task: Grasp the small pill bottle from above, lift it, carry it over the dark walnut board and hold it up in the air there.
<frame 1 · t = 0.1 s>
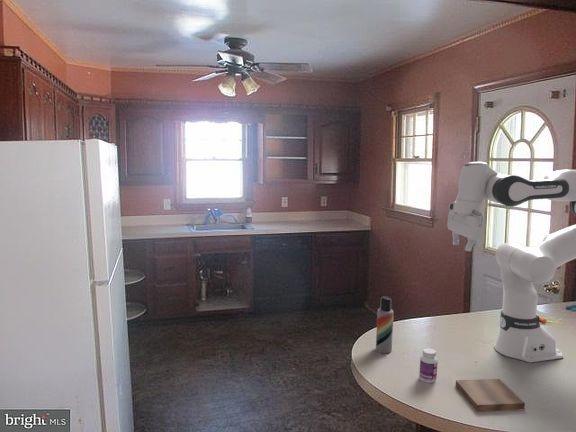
hand: (461, 247, 166), 39 cm above the worktop, tool pointing down, fingers open, 8 cm apart
walnut board: (488, 397, 142), on the worktop
lotion bottle: (383, 350, 174), on the worktop
pill bottle: (427, 379, 153), on the worktop
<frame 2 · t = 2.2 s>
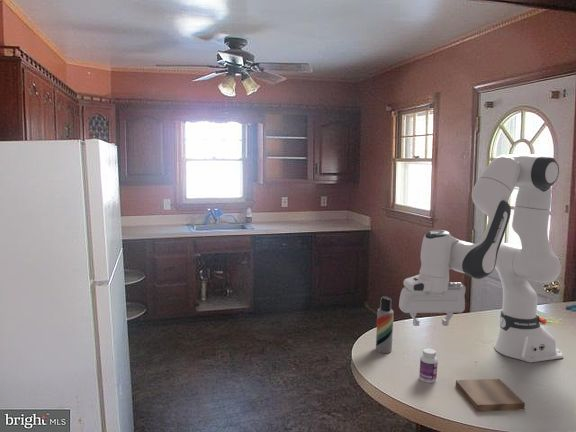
hand: (430, 325, 150), 18 cm above the worktop, tool pointing down, fingers open, 8 cm apart
nothing on the worktop moved.
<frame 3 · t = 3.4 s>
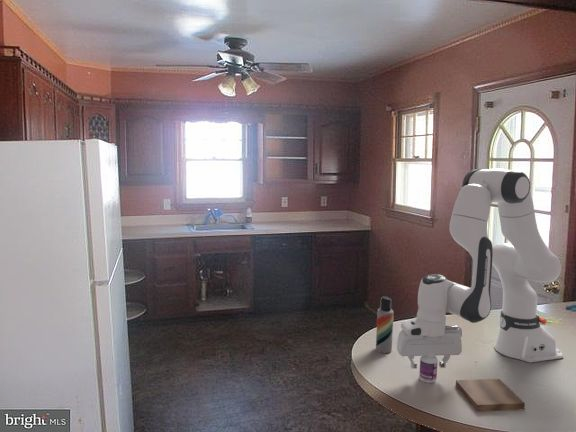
hand: (427, 367, 152), 4 cm above the worktop, tool pointing down, fingers open, 8 cm apart
nothing on the worktop moved.
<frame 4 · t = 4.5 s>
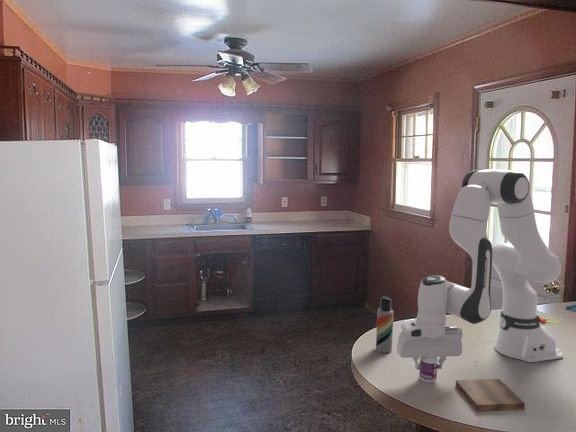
hand: (428, 368, 152), 4 cm above the worktop, tool pointing down, fingers closed on pill bottle, 5 cm apart
pill bottle: (427, 379, 153), on the worktop, touching gripper
everything else where it was.
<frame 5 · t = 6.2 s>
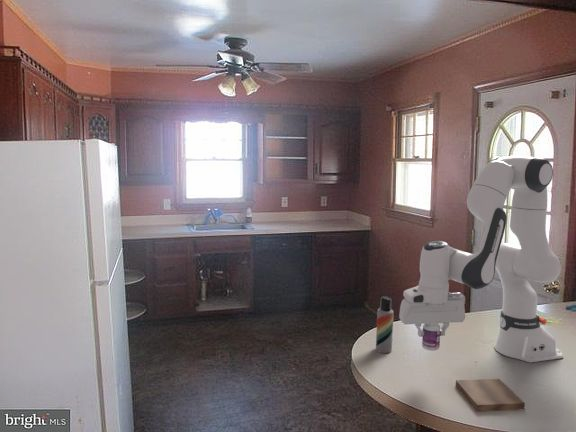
hand: (431, 335, 151), 15 cm above the worktop, tool pointing down, fingers closed on pill bottle, 5 cm apart
pill bottle: (430, 348, 151), point 10 cm above the worktop, touching gripper
everything else where it was.
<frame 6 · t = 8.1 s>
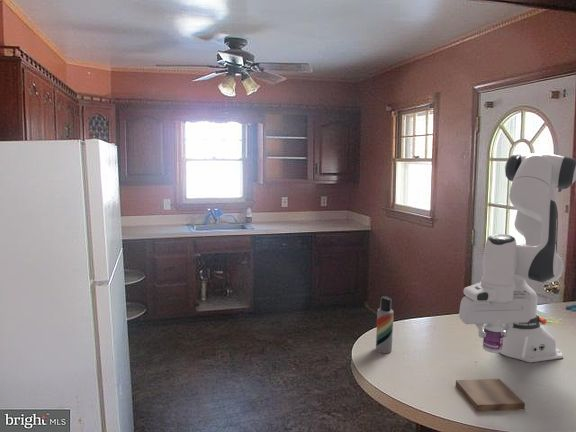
hand: (493, 336, 139), 19 cm above the worktop, tool pointing down, fingers closed on pill bottle, 5 cm apart
pill bottle: (492, 350, 140), point 15 cm above the worktop, touching gripper
everything else where it was.
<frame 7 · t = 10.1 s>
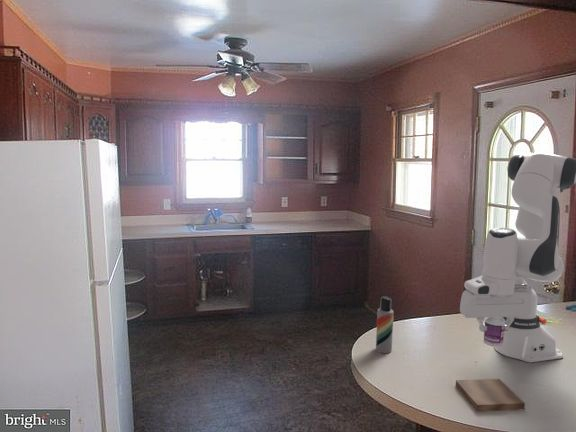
hand: (494, 330, 139), 21 cm above the worktop, tool pointing down, fingers closed on pill bottle, 5 cm apart
pill bottle: (493, 344, 140), point 17 cm above the worktop, touching gripper
everything else where it was.
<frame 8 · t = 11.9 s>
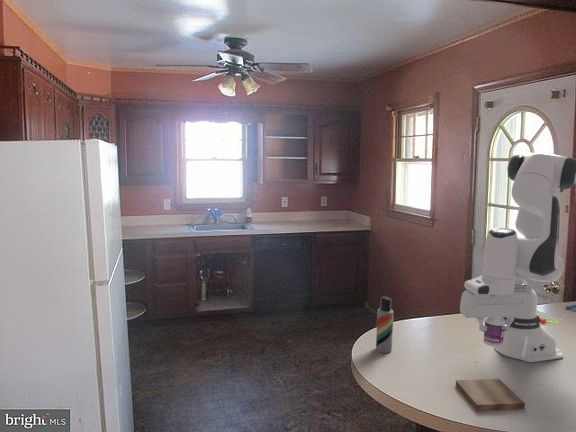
hand: (494, 330, 139), 21 cm above the worktop, tool pointing down, fingers closed on pill bottle, 5 cm apart
pill bottle: (493, 344, 140), point 17 cm above the worktop, touching gripper
everything else where it was.
at the end: the gripper is holding pill bottle; pill bottle point 16.8 cm above the worktop; pill bottle 0.1 cm from the walnut board (horizontally) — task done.
